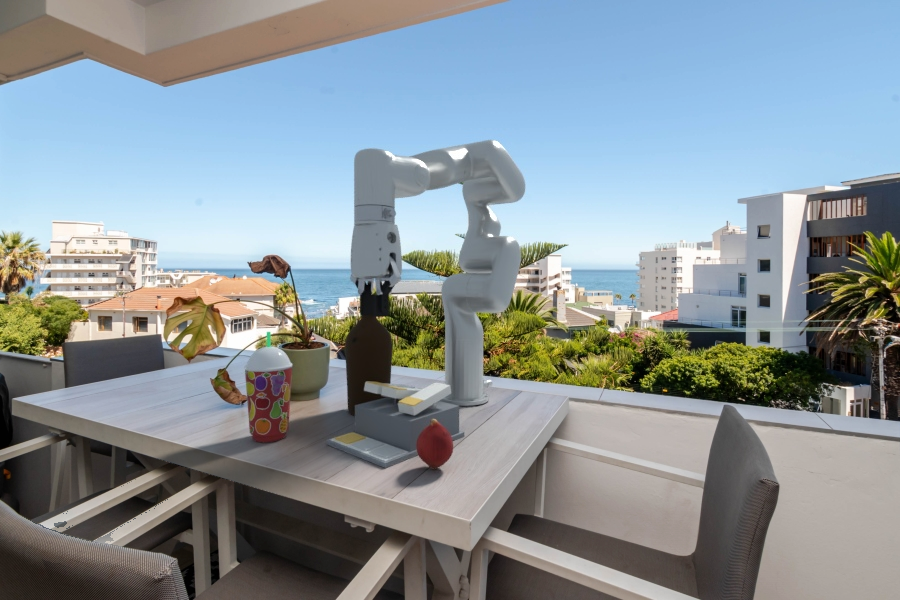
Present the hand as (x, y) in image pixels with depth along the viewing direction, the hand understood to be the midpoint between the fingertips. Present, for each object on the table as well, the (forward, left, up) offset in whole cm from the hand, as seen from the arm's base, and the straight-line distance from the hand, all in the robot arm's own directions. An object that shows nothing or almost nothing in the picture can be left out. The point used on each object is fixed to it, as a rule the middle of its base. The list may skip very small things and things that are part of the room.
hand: (374, 314), depth 87 cm
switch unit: (-1, +5, -23) cm, 24 cm away
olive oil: (-10, -14, -23) cm, 29 cm away
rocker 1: (-4, 0, -16) cm, 16 cm away
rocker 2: (-4, +5, -16) cm, 17 cm away
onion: (+4, +19, -23) cm, 30 cm away
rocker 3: (-4, +10, -16) cm, 19 cm away
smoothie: (+14, -14, -23) cm, 31 cm away
